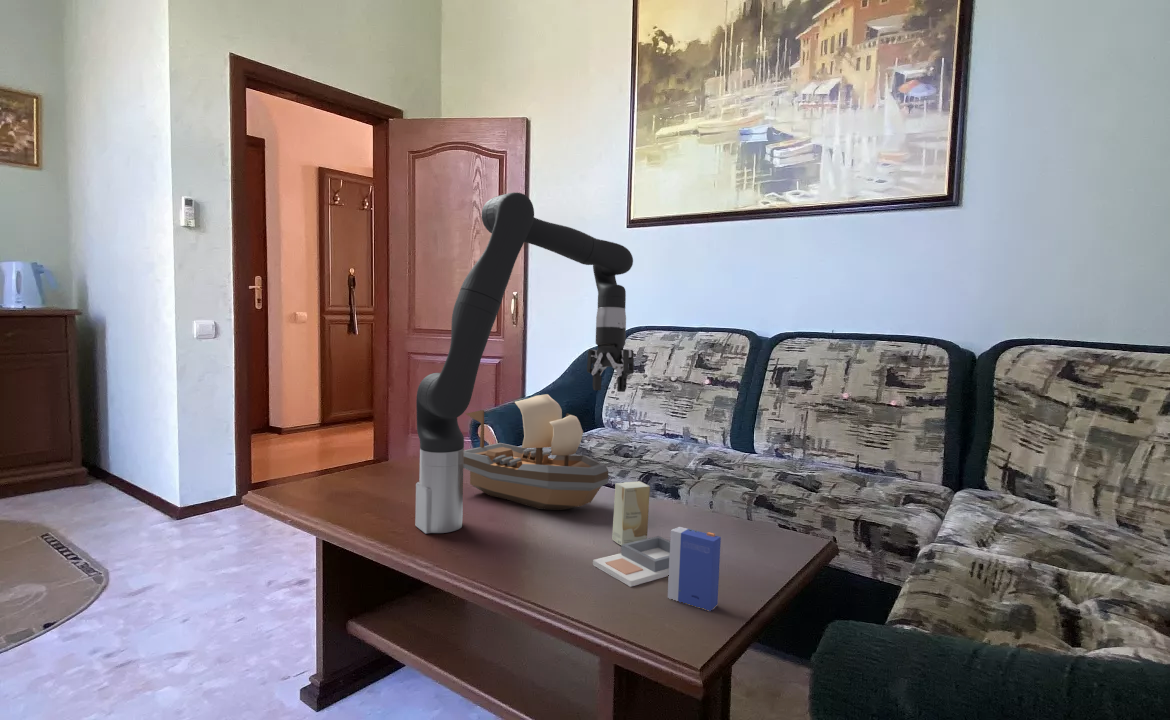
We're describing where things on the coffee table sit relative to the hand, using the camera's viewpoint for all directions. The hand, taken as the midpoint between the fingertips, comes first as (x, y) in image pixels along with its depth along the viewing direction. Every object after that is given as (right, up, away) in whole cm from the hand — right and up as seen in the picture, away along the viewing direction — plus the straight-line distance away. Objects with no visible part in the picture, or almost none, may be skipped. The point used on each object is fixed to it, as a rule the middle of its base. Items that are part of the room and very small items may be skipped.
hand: (609, 391), depth 158 cm
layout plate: (+5, -31, -39) cm, 50 cm away
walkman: (+12, -33, -54) cm, 64 cm away
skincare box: (+3, -30, -27) cm, 41 cm away
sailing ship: (-21, -28, +1) cm, 35 cm away
